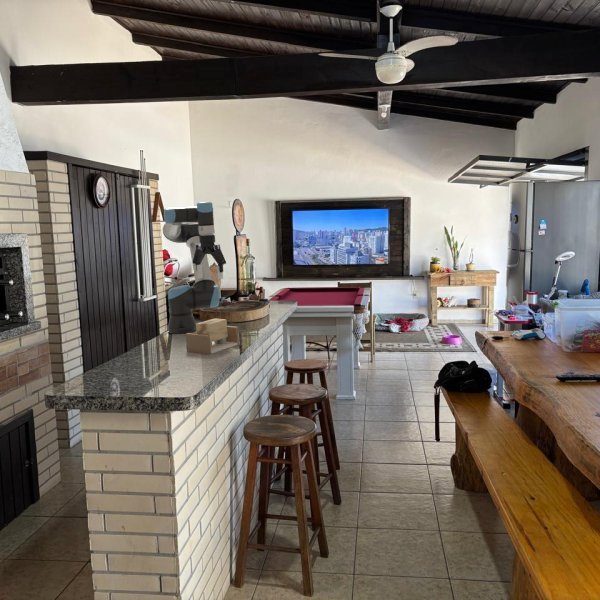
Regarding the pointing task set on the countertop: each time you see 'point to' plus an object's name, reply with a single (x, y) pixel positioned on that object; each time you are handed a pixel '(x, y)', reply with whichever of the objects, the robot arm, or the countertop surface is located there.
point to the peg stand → (204, 346)
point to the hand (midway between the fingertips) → (210, 278)
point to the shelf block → (213, 329)
